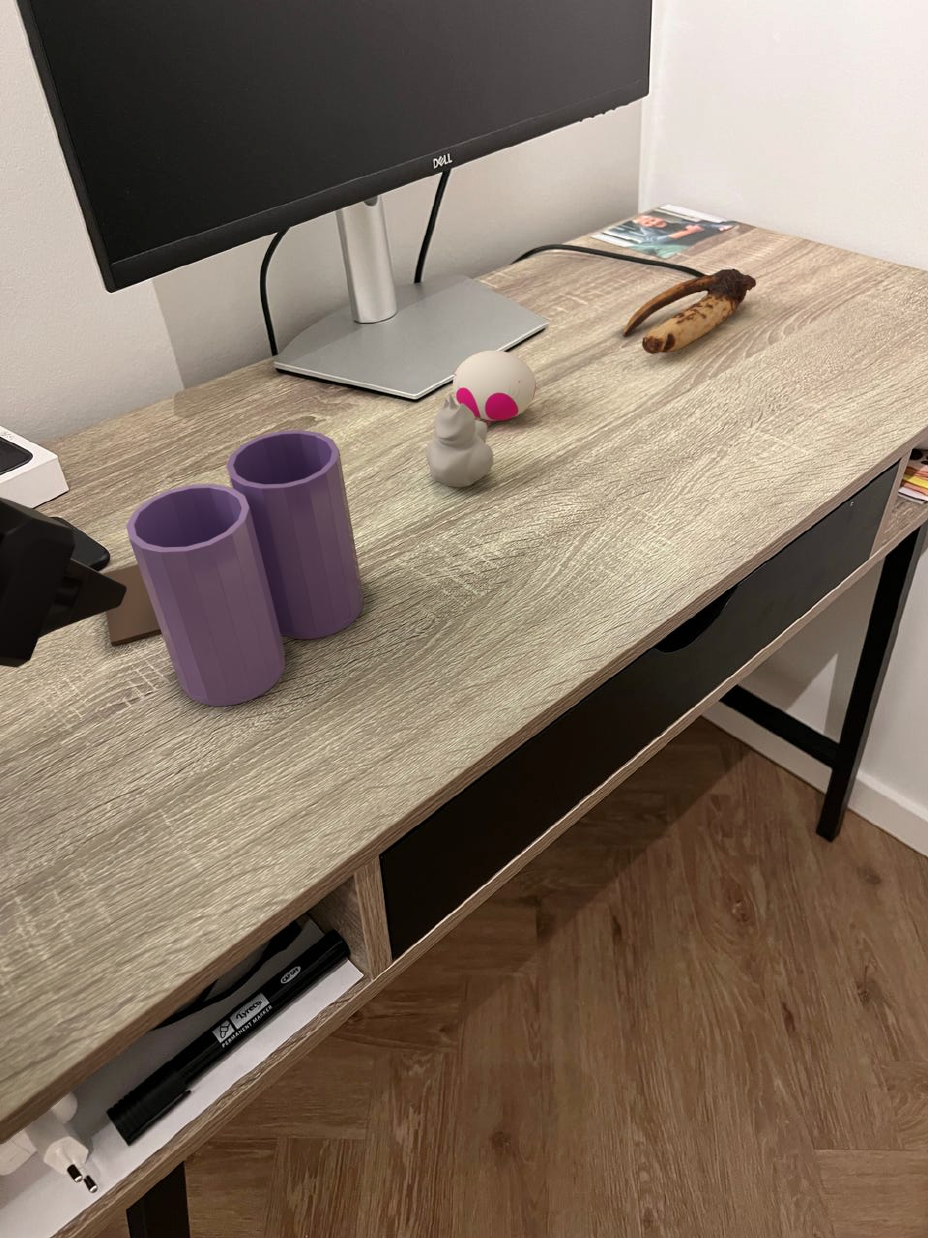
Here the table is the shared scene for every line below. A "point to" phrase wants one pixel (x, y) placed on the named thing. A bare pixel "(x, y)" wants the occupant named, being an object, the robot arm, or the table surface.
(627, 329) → the lashed bone hook
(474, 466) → the rubber duck
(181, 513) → the tumbler
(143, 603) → the coaster
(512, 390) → the stress ball
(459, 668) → the table surface
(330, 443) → the tumbler
